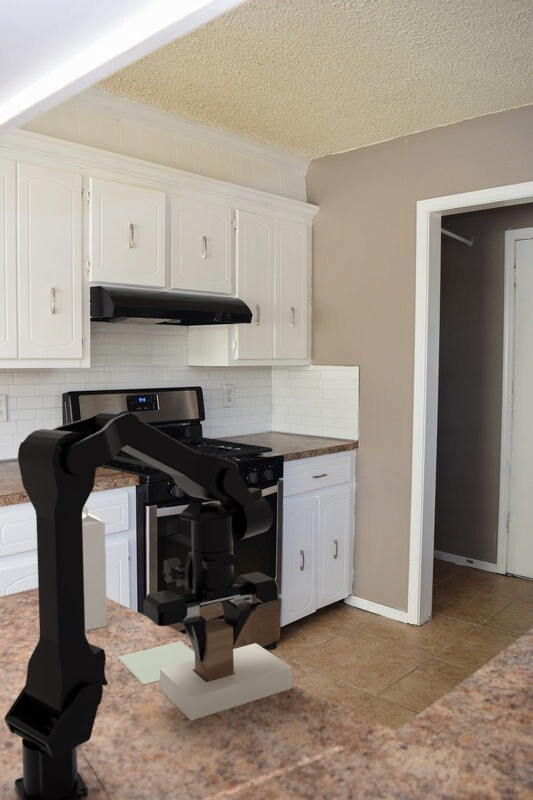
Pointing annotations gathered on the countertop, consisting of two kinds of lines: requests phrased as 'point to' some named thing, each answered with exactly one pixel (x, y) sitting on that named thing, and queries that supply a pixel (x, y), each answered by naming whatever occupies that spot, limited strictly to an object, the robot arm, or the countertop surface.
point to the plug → (216, 652)
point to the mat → (156, 660)
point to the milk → (94, 571)
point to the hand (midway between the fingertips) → (214, 656)
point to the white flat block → (226, 682)
